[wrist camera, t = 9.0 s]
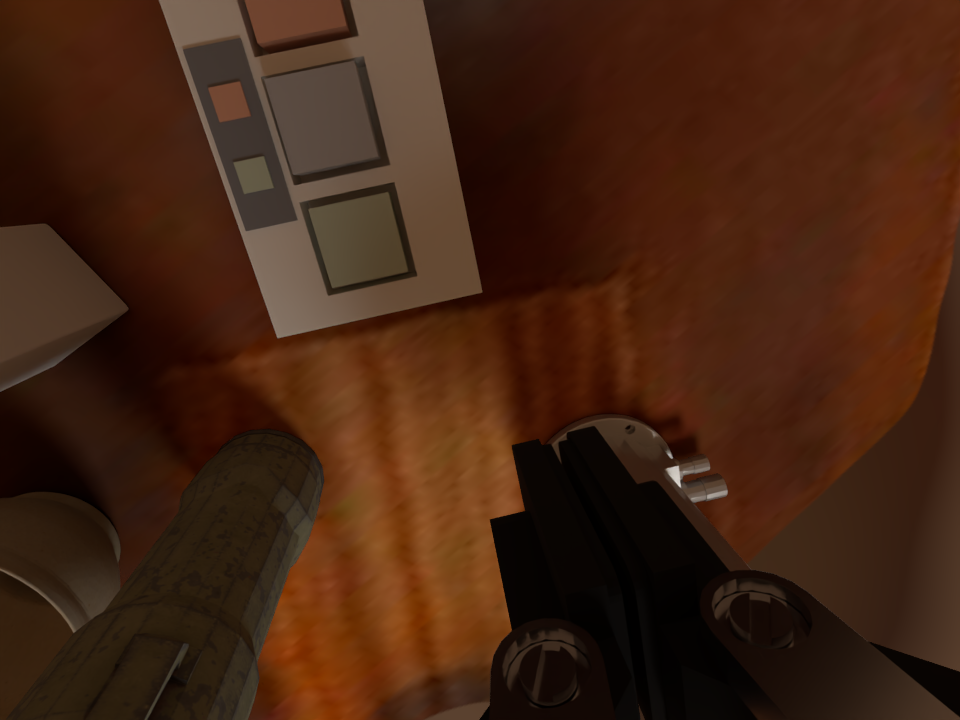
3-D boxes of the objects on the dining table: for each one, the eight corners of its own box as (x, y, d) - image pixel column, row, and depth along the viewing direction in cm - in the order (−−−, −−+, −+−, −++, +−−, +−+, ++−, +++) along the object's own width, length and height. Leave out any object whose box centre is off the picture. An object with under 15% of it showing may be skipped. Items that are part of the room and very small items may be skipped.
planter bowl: (-88, 574, 40) (-261, 705, 30) (-13, 414, 37) (-179, 500, 27) (117, 648, 45) (26, 784, 34) (200, 510, 41) (127, 616, 31)
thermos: (339, 423, 40) (-42, 1499, 7) (310, 546, 43) (-46, 1678, 10) (222, 398, 39) (-979, 1644, 6) (200, 528, 42) (-637, 1801, 9)
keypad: (395, -116, 30) (391, -158, 26) (477, 283, 38) (483, 293, 34) (156, -70, 29) (118, -107, 26) (290, 325, 37) (275, 339, 34)
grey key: (359, 70, 30) (353, 60, 28) (381, 159, 32) (377, 156, 30) (276, 87, 30) (263, 79, 28) (302, 175, 32) (293, 174, 30)
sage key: (390, 191, 34) (388, 191, 32) (408, 266, 36) (408, 271, 33) (316, 207, 34) (308, 209, 31) (338, 281, 35) (332, 288, 33)
